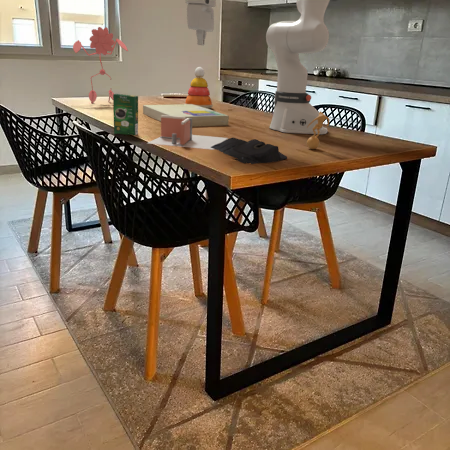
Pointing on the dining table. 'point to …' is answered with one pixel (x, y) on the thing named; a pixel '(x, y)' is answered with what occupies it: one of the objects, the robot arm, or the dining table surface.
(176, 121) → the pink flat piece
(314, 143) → the figurine
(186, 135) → the fence panel
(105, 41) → the figurine
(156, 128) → the dining table surface
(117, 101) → the coffee box
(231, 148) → the dark slate chunk
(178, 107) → the puzzle box
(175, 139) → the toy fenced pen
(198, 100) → the stacking toy
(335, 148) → the dining table surface
